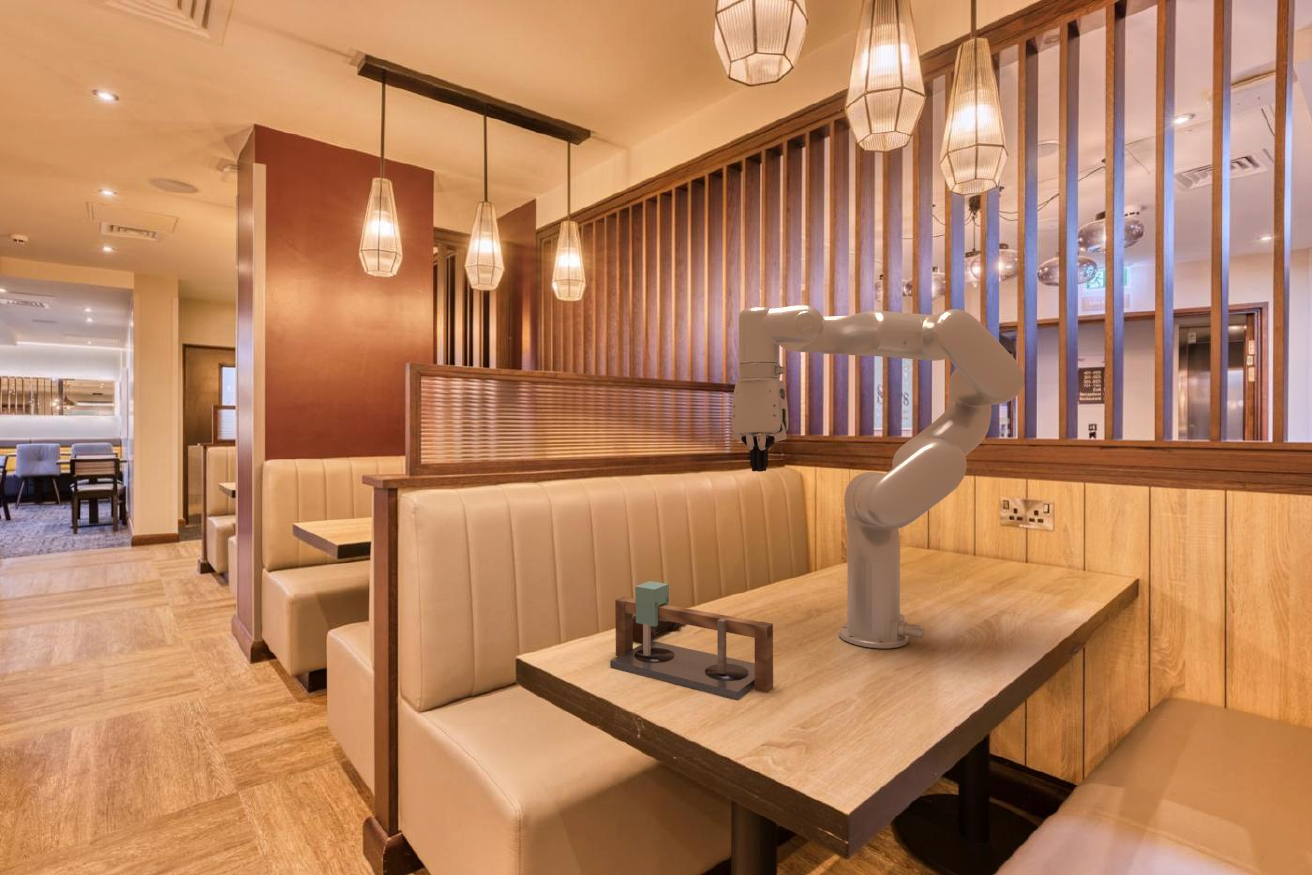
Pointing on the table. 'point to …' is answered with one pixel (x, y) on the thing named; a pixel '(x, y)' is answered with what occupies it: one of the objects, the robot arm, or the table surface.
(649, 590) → the slider block
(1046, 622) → the table surface
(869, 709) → the table surface
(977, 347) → the robot arm
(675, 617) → the beam
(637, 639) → the bolt
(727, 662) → the hole plate
